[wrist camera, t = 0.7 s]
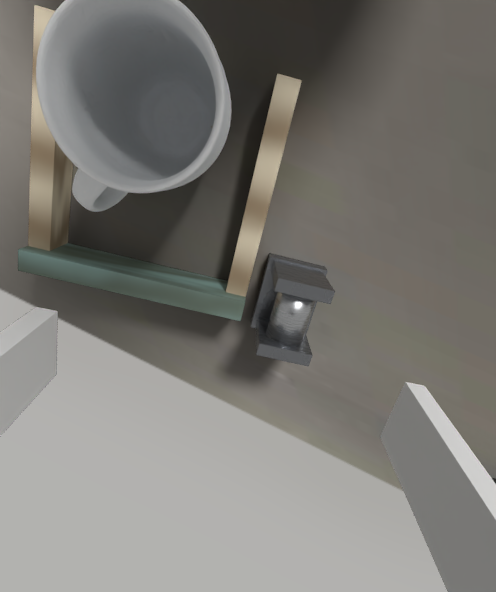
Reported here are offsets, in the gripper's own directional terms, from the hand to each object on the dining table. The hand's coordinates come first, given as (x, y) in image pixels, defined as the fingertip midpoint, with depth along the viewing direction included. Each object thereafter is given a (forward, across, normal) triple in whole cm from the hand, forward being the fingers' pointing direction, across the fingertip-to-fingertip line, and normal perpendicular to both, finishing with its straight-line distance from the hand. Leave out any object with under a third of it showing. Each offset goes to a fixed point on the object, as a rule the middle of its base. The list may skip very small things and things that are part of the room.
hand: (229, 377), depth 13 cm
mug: (+25, -9, +8) cm, 28 cm away
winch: (+24, +6, -5) cm, 26 cm away
